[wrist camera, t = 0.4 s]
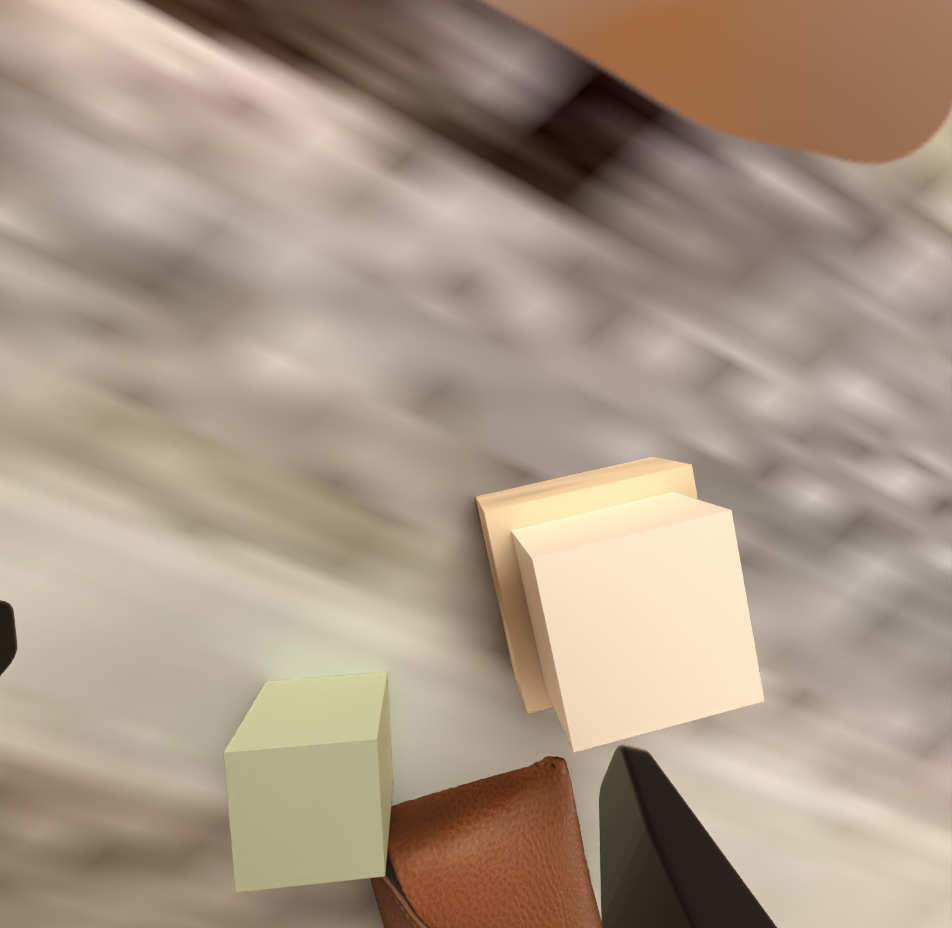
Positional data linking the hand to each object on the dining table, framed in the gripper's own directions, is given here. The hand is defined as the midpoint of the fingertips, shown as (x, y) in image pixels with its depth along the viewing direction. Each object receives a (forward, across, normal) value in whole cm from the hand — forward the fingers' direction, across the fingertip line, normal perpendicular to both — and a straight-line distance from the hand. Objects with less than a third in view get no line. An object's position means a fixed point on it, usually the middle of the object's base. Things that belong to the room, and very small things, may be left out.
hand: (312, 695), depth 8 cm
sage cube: (+10, +2, +12) cm, 15 cm away
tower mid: (+10, -7, +3) cm, 12 cm away
